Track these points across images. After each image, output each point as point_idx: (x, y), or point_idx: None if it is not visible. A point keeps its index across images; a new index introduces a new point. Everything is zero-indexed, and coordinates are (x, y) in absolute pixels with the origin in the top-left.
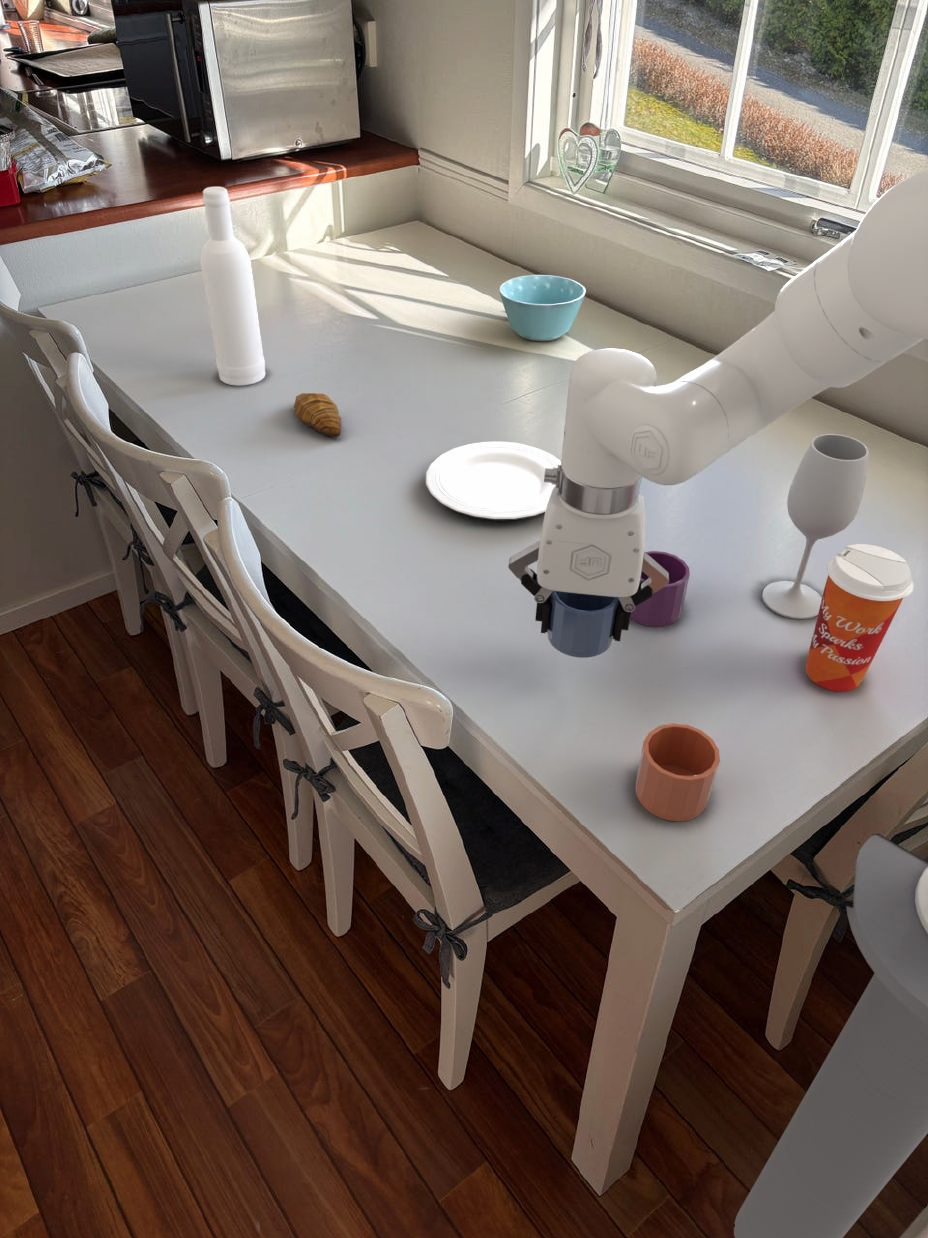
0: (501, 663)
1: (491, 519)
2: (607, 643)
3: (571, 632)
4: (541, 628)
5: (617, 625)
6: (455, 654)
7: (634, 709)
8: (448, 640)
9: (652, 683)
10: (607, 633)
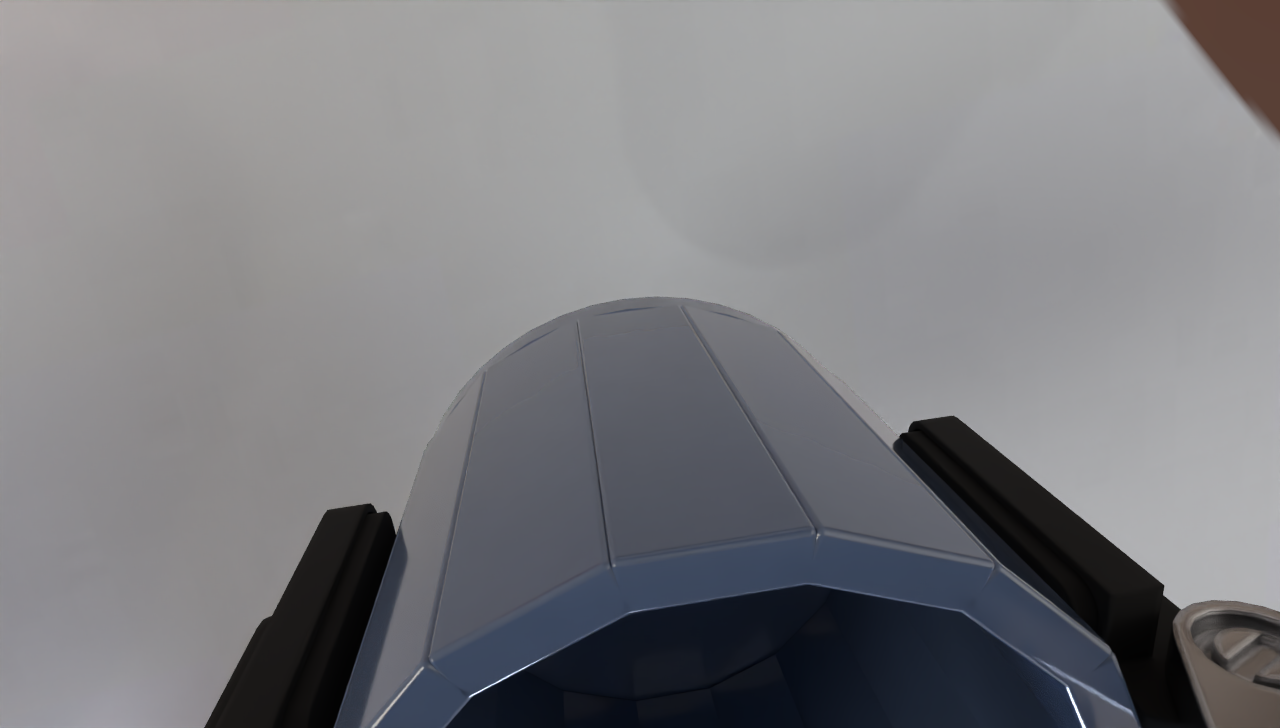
0: (972, 342)
1: None
2: (422, 457)
3: (754, 383)
4: (973, 431)
5: (325, 606)
6: (1183, 338)
7: (249, 203)
8: (1212, 416)
9: (213, 423)
10: (415, 507)
